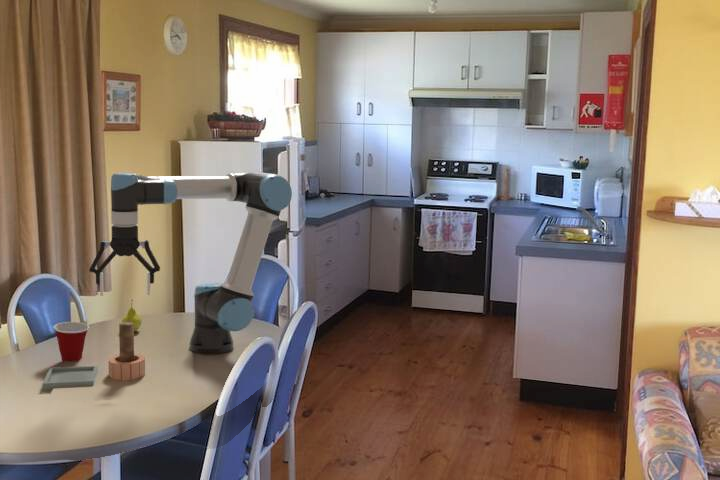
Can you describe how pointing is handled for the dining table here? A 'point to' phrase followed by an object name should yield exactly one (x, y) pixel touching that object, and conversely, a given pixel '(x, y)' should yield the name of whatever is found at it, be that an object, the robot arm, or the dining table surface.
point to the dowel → (126, 341)
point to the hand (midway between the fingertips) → (125, 294)
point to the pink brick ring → (126, 368)
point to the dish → (70, 376)
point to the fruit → (133, 318)
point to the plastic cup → (71, 339)
